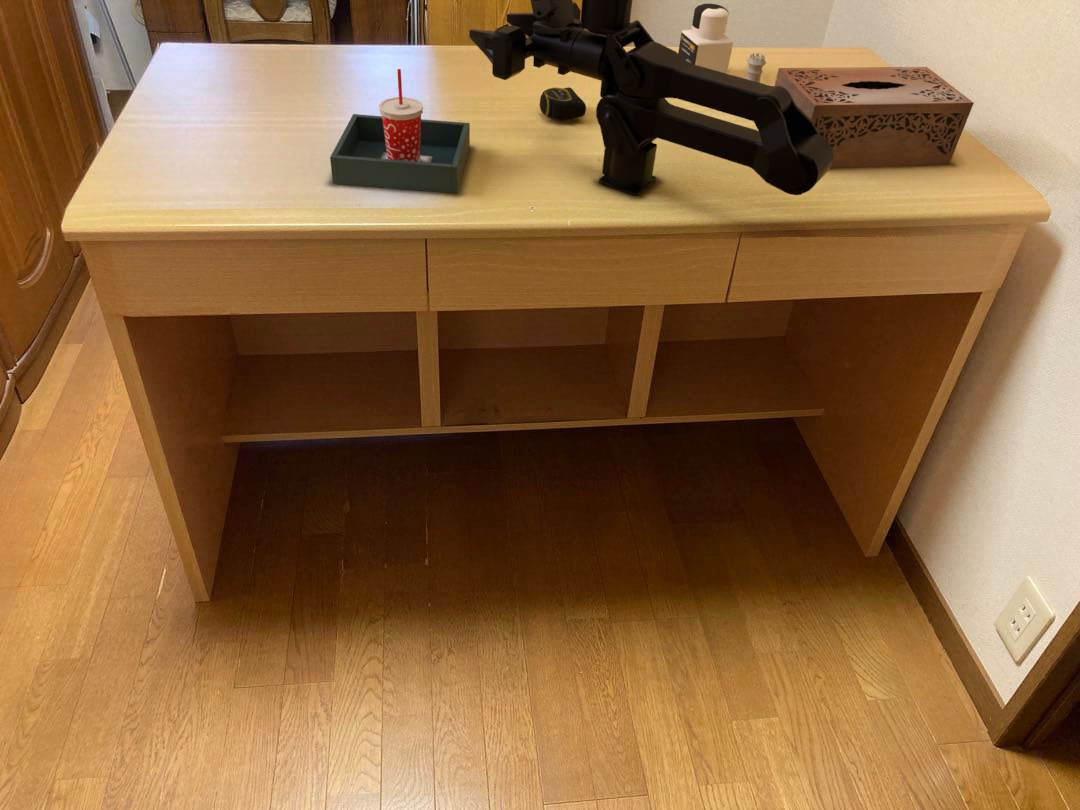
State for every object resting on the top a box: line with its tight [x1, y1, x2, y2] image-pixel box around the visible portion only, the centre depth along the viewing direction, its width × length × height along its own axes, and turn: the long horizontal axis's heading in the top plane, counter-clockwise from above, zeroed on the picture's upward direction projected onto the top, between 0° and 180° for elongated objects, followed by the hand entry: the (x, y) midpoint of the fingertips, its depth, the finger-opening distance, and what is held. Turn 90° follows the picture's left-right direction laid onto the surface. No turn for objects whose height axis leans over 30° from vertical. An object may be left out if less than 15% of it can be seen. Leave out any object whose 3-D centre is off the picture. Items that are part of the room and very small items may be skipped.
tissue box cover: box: [774, 66, 975, 169], centre depth 137 cm, size 26×14×10 cm, turn 100°
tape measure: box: [539, 86, 587, 121], centre depth 142 cm, size 7×7×4 cm
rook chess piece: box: [744, 53, 767, 83], centre depth 149 cm, size 4×4×8 cm
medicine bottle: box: [677, 3, 734, 74], centre depth 156 cm, size 7×7×12 cm
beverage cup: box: [378, 68, 424, 162], centre depth 122 cm, size 6×6×14 cm
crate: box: [329, 113, 471, 194], centre depth 126 cm, size 18×15×4 cm
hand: (488, 25), depth 126 cm, fingers open, 9 cm apart
